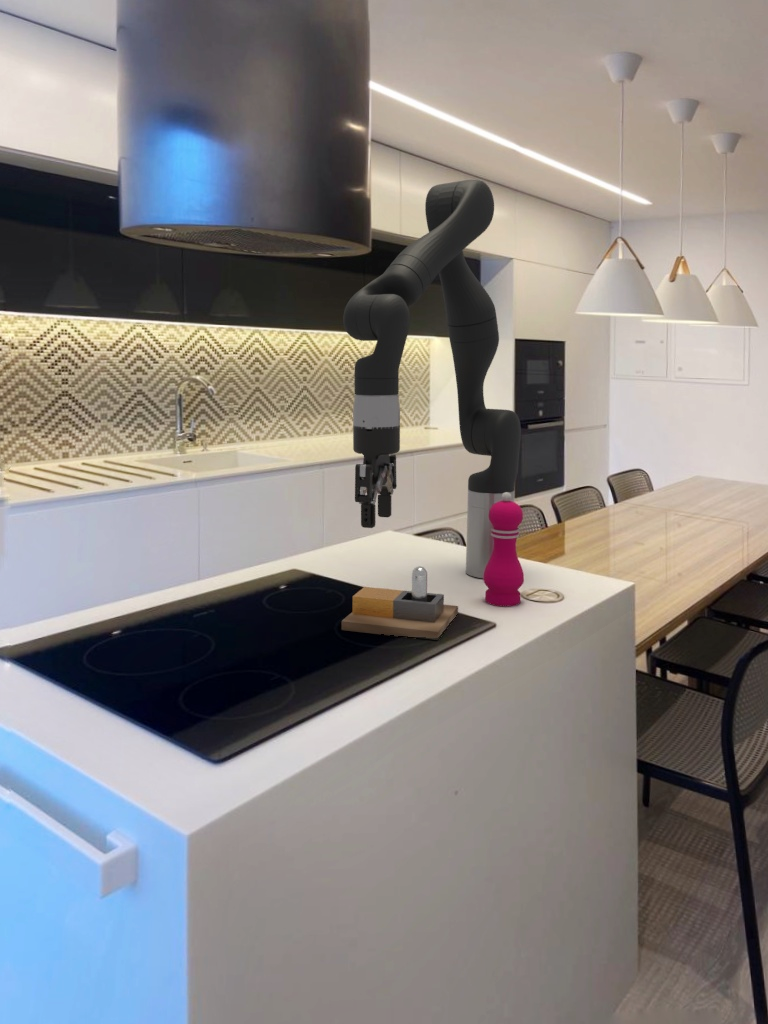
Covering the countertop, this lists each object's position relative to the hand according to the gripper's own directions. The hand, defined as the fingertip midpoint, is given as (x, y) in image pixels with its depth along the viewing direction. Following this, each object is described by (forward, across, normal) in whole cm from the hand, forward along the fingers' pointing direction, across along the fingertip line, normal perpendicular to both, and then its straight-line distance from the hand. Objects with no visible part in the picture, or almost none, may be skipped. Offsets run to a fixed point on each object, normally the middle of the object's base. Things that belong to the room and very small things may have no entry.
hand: (376, 521), depth 135 cm
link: (+15, 0, +4) cm, 16 cm away
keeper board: (+17, 0, +4) cm, 17 cm away
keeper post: (+15, 0, +7) cm, 17 cm away
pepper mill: (+17, -17, +18) cm, 30 cm away
